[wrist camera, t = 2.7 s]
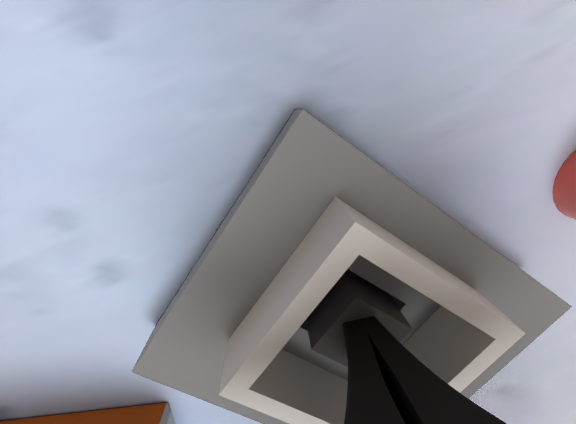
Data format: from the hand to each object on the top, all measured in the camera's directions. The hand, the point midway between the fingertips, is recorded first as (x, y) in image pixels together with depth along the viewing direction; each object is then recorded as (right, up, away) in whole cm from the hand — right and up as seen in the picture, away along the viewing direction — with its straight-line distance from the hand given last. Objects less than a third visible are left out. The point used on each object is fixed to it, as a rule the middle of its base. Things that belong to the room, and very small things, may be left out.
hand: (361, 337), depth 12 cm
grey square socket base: (0, 0, +5) cm, 5 cm away
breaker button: (0, +1, +3) cm, 3 cm away
